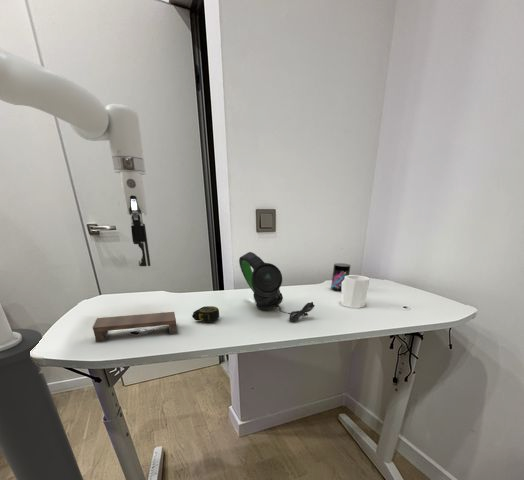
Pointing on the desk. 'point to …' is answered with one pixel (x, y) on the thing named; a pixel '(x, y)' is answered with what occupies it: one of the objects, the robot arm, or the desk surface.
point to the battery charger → (143, 250)
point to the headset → (266, 284)
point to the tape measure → (206, 314)
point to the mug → (354, 291)
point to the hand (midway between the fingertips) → (139, 239)
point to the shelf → (133, 323)
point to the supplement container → (339, 275)
